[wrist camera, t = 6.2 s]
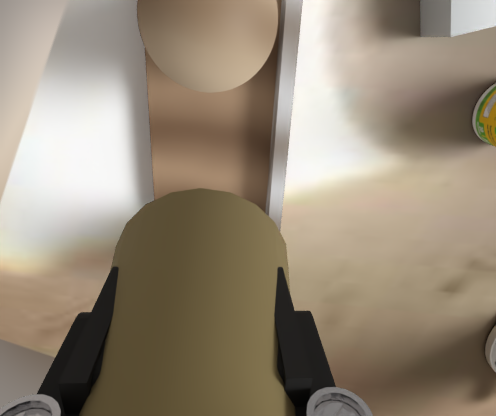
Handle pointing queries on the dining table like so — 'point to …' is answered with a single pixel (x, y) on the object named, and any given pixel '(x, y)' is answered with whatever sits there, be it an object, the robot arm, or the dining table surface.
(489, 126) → the supplement bottle
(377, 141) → the dining table surface
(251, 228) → the cork
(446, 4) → the grey rectangular block
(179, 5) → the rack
